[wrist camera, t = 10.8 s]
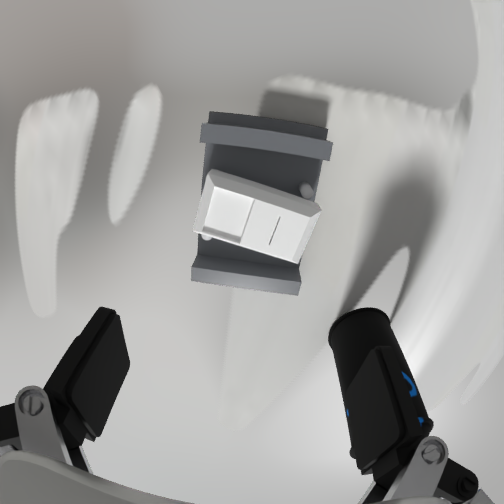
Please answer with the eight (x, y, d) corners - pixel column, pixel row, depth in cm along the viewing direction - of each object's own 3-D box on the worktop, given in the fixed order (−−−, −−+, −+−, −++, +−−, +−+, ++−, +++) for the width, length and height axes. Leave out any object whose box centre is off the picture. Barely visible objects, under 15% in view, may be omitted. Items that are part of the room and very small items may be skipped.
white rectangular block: (295, 253, 25) (298, 269, 23) (197, 223, 24) (189, 235, 22) (317, 203, 23) (323, 214, 20) (212, 168, 22) (205, 175, 20)
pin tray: (211, 111, 22) (203, 110, 19) (325, 128, 22) (335, 130, 19) (198, 270, 30) (191, 289, 26) (292, 283, 30) (295, 304, 27)
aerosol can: (392, 340, 33) (440, 471, 16) (336, 361, 35) (360, 499, 17) (384, 296, 30) (452, 448, 12) (320, 321, 32) (348, 486, 14)
